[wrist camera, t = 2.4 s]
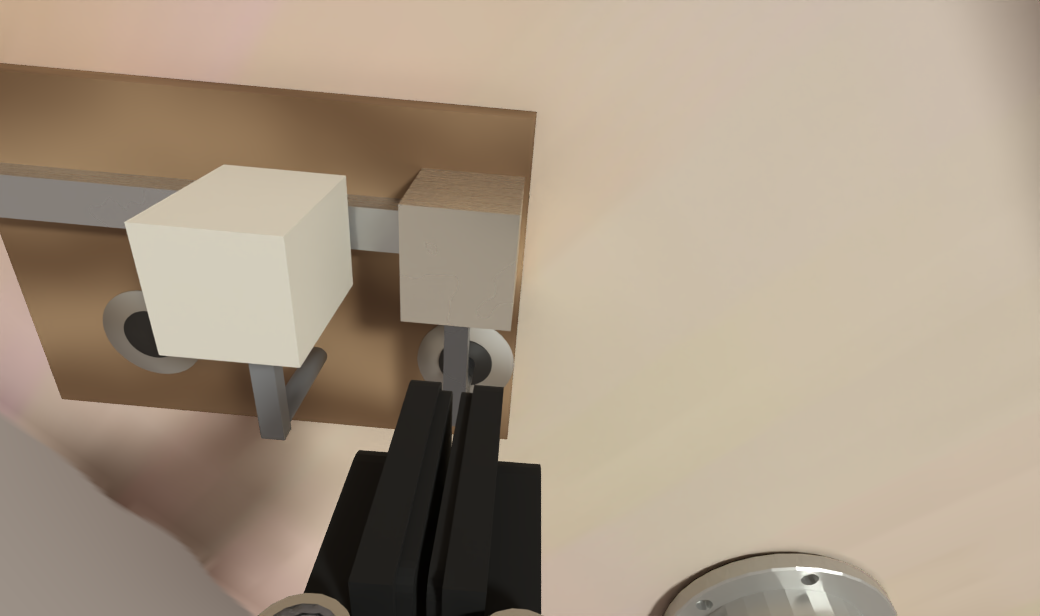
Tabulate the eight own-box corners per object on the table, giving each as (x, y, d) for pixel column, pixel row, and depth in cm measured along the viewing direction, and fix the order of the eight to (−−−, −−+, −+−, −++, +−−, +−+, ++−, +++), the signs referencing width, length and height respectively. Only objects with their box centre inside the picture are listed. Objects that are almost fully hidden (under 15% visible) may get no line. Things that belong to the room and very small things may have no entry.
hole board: (508, 421, 28) (506, 442, 27) (80, 382, 28) (59, 401, 27) (536, 111, 21) (535, 120, 20) (-32, 60, 21) (-68, 65, 20)
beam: (508, 373, 25) (501, 434, 22) (60, 332, 25) (-15, 387, 22) (525, 177, 21) (520, 215, 18) (-12, 128, 21) (-118, 157, 18)
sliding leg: (366, 367, 24) (313, 480, 19) (270, 358, 24) (188, 470, 19) (355, 166, 20) (283, 236, 15) (238, 155, 20) (124, 222, 15)
